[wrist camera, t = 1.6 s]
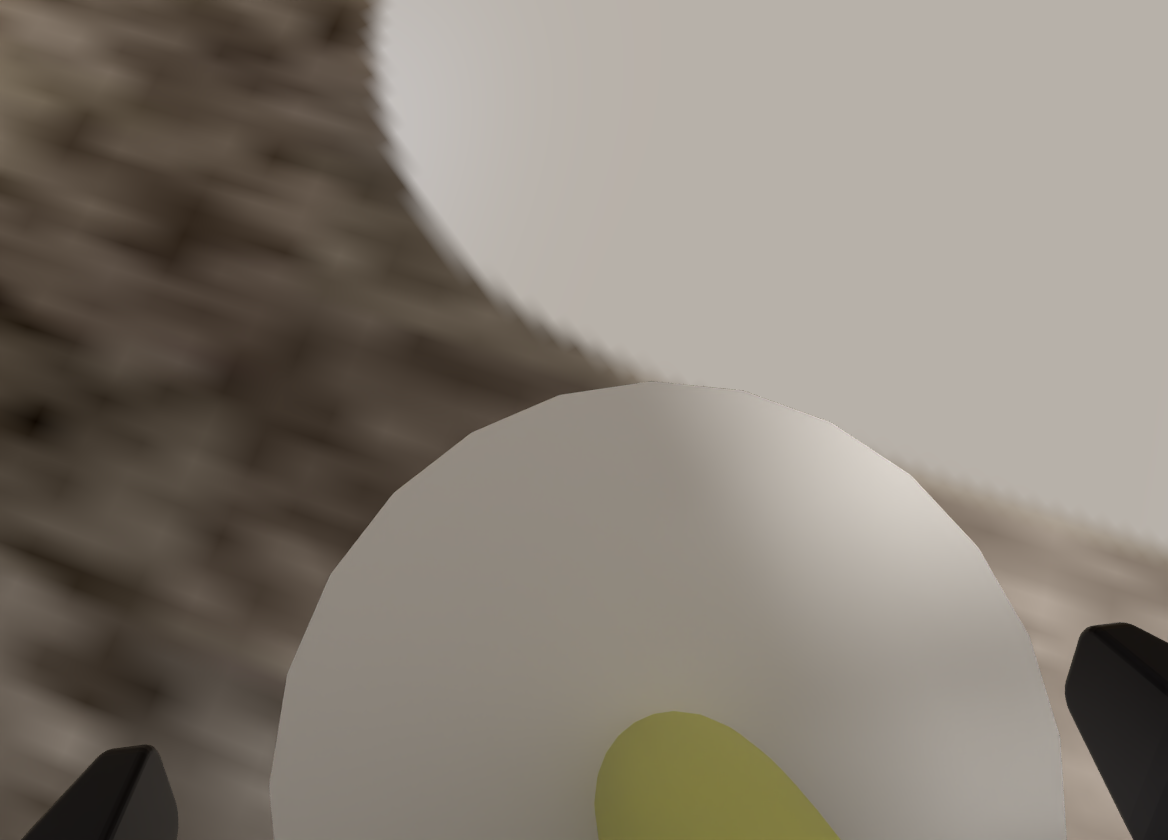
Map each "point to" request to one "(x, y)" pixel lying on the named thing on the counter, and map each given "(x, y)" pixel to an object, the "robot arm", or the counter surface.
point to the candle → (665, 644)
